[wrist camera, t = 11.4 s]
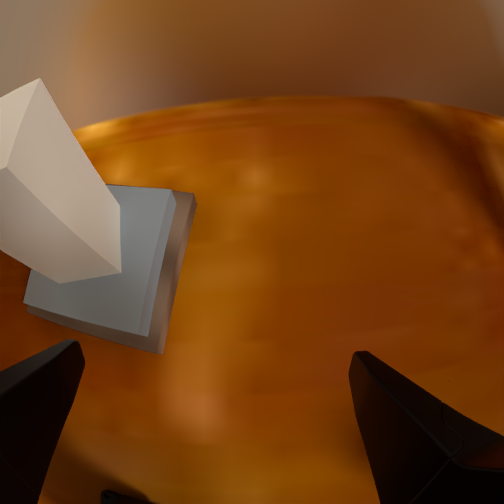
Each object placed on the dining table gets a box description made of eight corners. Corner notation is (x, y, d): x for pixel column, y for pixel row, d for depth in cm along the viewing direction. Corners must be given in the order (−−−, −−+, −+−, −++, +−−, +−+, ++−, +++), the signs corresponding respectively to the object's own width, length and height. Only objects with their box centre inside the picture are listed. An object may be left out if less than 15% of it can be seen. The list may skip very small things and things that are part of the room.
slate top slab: (148, 336, 19) (138, 334, 17) (38, 308, 19) (23, 302, 18) (176, 203, 22) (170, 189, 21) (71, 195, 23) (60, 183, 21)
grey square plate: (165, 354, 21) (155, 353, 19) (42, 317, 22) (26, 311, 19) (198, 208, 25) (193, 193, 23) (81, 194, 26) (69, 181, 23)
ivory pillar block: (121, 272, 18) (6, 166, 7) (59, 283, 18) (-66, 204, 7) (120, 205, 20) (40, 77, 9) (62, 219, 20) (-33, 117, 8)
